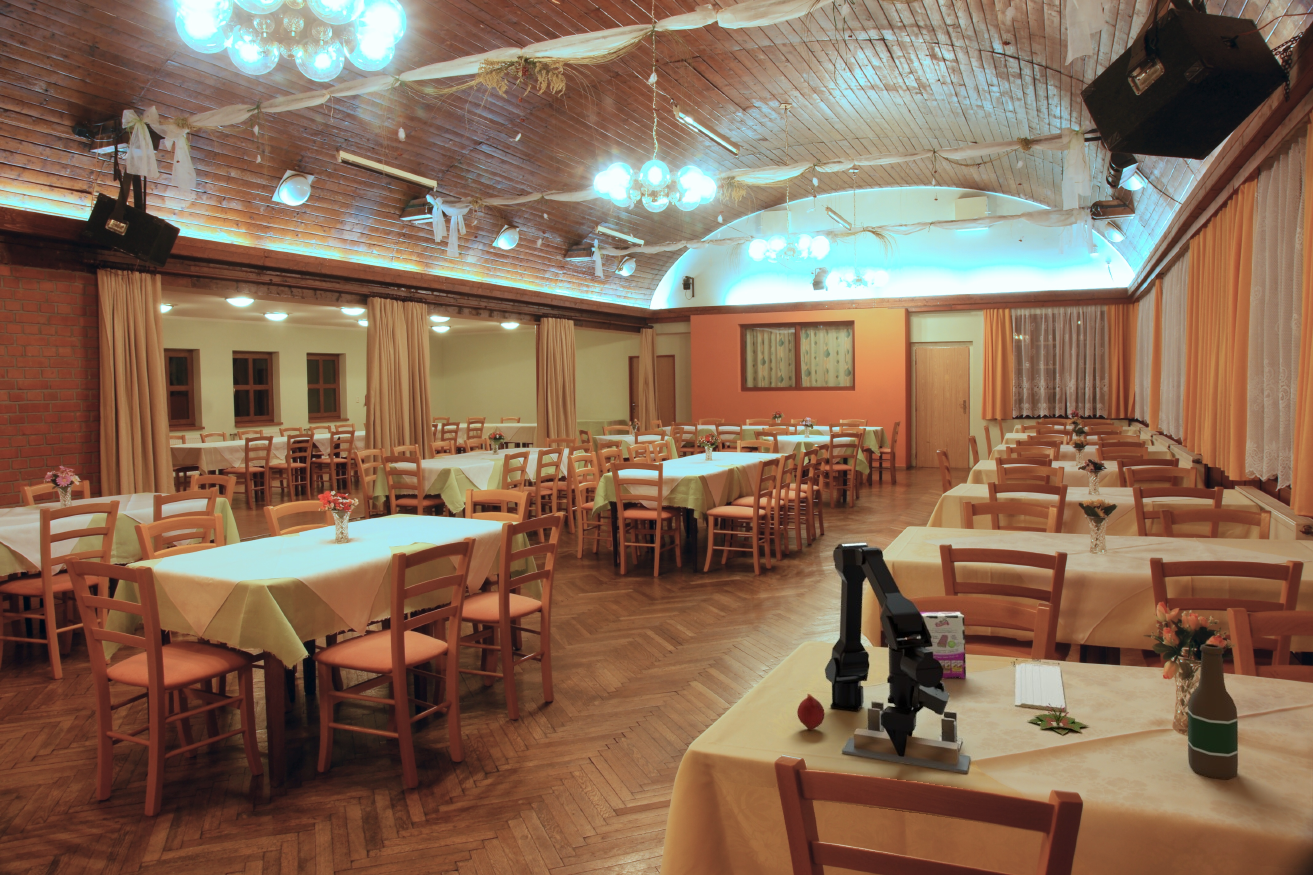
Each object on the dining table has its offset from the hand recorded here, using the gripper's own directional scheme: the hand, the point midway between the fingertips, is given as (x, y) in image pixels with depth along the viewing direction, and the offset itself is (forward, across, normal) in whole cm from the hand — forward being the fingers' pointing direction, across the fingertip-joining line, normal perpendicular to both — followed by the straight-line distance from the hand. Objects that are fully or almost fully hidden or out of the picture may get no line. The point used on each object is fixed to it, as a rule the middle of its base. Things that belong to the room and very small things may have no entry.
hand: (905, 747), depth 162 cm
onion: (+2, +6, +21) cm, 22 cm away
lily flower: (+2, +29, -28) cm, 40 cm away
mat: (+2, 0, 0) cm, 2 cm away
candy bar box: (+2, +53, -1) cm, 53 cm away
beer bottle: (+2, +15, -54) cm, 56 cm away
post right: (+2, +9, -8) cm, 12 cm away
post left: (+2, +9, +8) cm, 12 cm away
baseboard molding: (+3, +53, -23) cm, 58 cm away
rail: (+1, 0, 0) cm, 1 cm away
